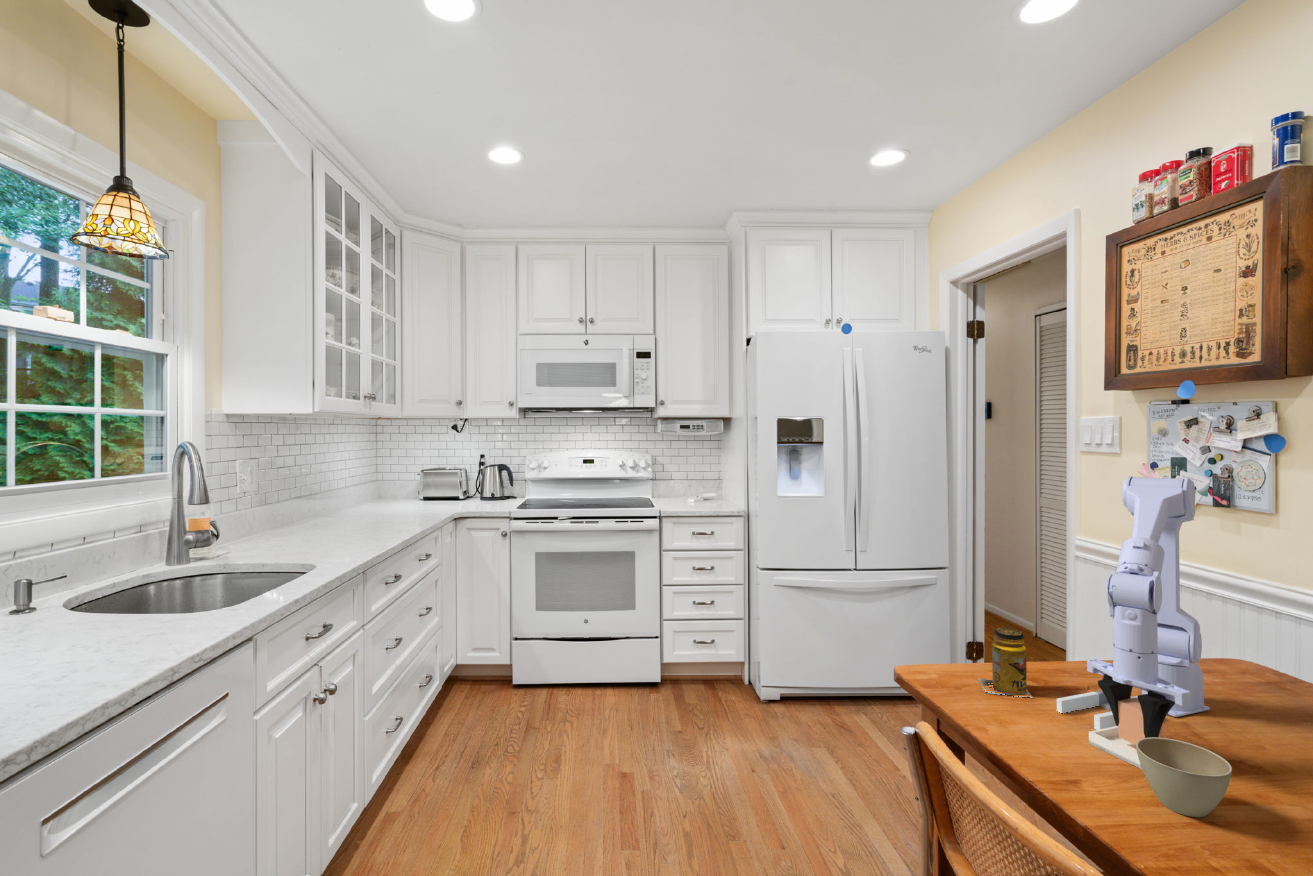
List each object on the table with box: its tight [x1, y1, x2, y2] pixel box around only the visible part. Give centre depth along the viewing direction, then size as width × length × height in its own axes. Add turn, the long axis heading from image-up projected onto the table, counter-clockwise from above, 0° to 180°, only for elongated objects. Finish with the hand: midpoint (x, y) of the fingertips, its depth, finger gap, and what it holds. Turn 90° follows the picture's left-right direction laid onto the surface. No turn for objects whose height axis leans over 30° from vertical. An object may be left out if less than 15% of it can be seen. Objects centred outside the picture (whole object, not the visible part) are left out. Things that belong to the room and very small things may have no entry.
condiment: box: [977, 627, 1034, 699], centre depth 122 cm, size 7×8×12 cm
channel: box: [1056, 691, 1116, 730], centre depth 109 cm, size 10×8×2 cm
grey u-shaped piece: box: [1094, 689, 1133, 712], centre depth 111 cm, size 4×8×2 cm, turn 17°
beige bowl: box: [1136, 737, 1233, 818], centre depth 83 cm, size 10×10×7 cm
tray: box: [1088, 726, 1142, 770], centre depth 97 cm, size 9×9×2 cm
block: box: [1118, 697, 1163, 745], centre depth 97 cm, size 4×4×6 cm
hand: (1136, 731), depth 97 cm, fingers closed on block, 4 cm apart
